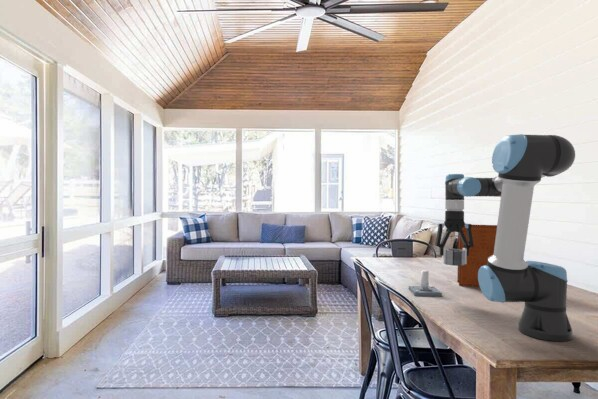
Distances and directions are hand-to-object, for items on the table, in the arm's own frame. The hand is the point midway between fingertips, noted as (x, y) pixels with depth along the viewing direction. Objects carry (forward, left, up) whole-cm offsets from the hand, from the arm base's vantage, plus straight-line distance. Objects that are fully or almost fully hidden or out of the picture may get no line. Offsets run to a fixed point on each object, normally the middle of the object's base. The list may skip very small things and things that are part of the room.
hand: (454, 263), depth 168 cm
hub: (0, 0, 0) cm, 0 cm away
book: (+29, -24, -16) cm, 41 cm away
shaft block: (+12, +9, -16) cm, 22 cm away
